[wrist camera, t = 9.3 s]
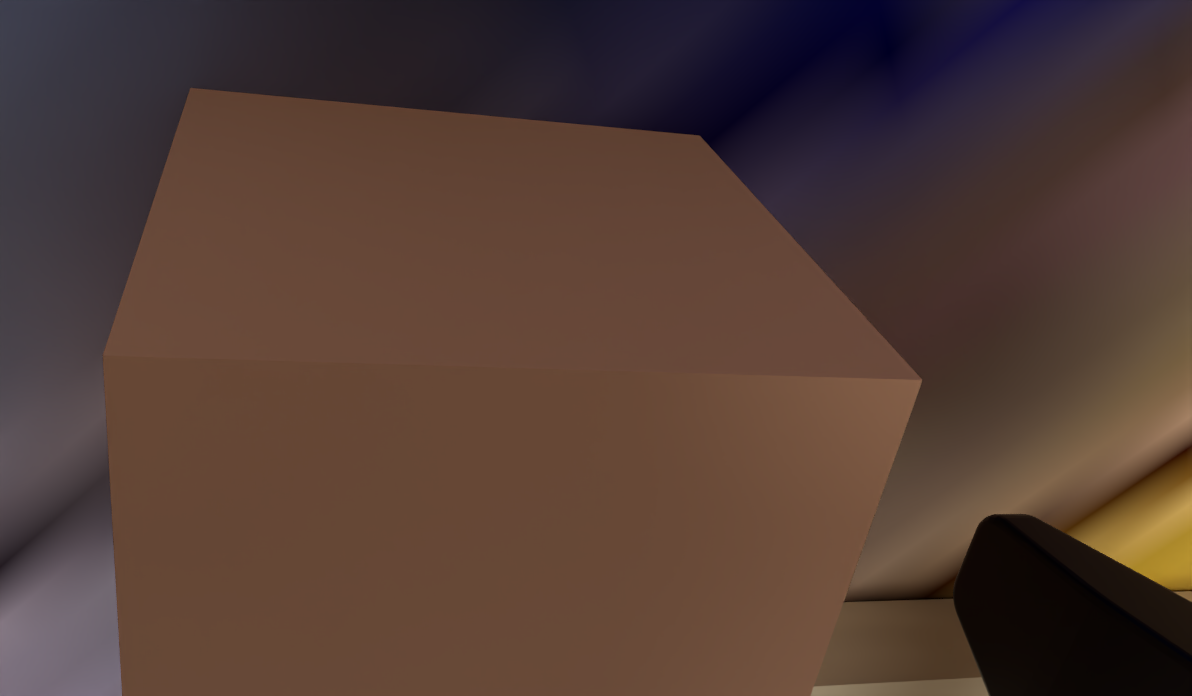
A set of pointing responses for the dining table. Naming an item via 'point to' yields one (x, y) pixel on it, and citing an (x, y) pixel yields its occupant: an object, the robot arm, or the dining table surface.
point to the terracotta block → (480, 415)
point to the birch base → (901, 651)
